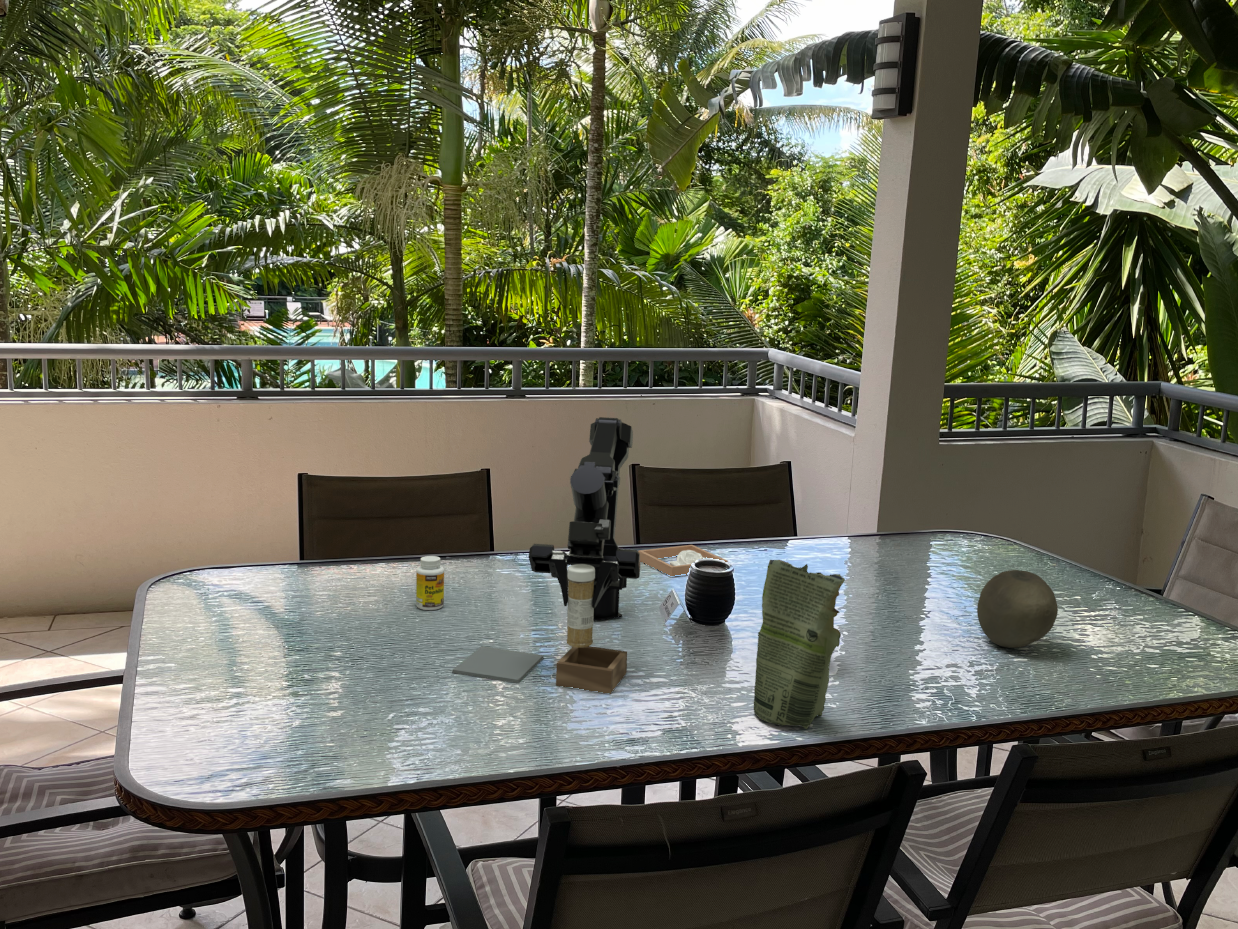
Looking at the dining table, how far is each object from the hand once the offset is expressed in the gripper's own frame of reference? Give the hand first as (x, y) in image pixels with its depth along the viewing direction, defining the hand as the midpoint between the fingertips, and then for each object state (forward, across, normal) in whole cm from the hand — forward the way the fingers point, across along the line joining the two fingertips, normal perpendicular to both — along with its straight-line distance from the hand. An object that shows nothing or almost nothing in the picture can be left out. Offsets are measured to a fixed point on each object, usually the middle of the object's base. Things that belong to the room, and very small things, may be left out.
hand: (579, 606), depth 165 cm
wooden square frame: (-43, +15, +63) cm, 78 cm away
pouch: (+15, +35, +4) cm, 38 cm away
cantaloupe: (-13, +80, +33) cm, 88 cm away
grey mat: (+6, -14, +12) cm, 20 cm away
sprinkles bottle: (+4, 0, +6) cm, 7 cm away
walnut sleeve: (+8, +2, +10) cm, 13 cm away
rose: (-42, +17, +62) cm, 77 cm away
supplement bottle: (-13, -35, +33) cm, 50 cm away
